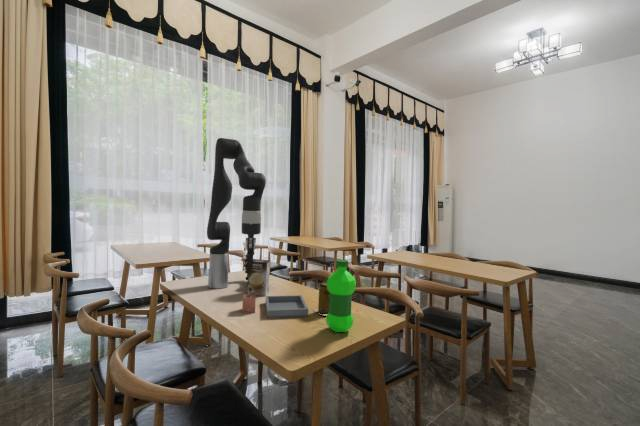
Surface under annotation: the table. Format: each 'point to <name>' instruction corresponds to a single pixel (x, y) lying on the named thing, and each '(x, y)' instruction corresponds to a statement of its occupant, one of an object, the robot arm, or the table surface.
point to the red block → (249, 303)
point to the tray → (286, 306)
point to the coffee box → (259, 277)
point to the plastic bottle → (340, 298)
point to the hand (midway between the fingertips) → (250, 264)
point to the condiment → (323, 299)
